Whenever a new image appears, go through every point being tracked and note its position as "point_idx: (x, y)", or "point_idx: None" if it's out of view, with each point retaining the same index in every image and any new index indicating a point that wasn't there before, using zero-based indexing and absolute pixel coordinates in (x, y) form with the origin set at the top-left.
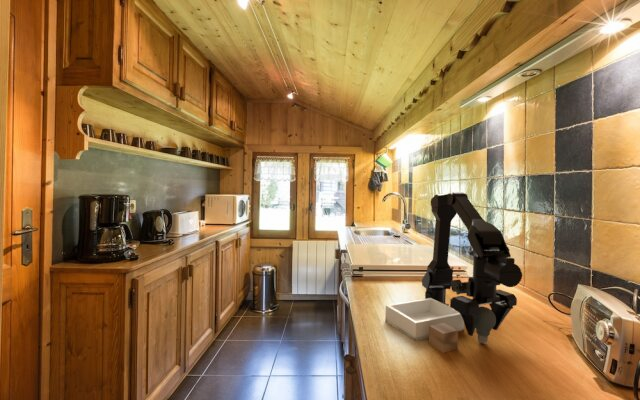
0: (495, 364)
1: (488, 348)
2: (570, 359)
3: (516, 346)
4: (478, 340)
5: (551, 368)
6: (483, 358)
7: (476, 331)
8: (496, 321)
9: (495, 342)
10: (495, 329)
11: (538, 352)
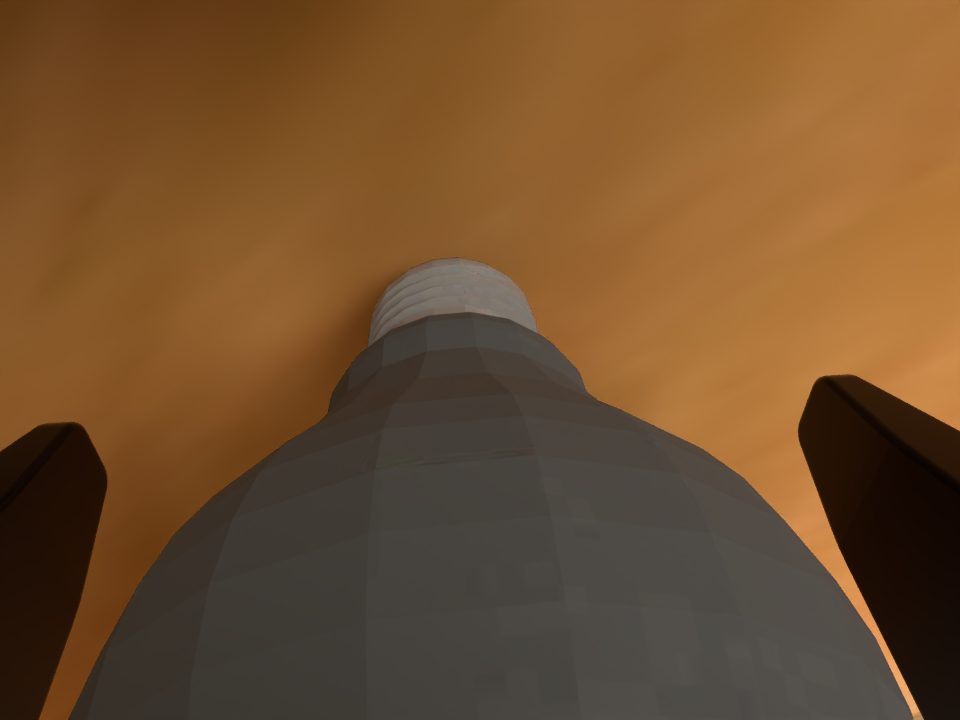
0: None
1: None
2: None
3: (806, 462)
4: (373, 315)
5: None
6: (158, 538)
7: (339, 388)
8: (912, 600)
9: (682, 325)
10: (806, 437)
11: (849, 577)
